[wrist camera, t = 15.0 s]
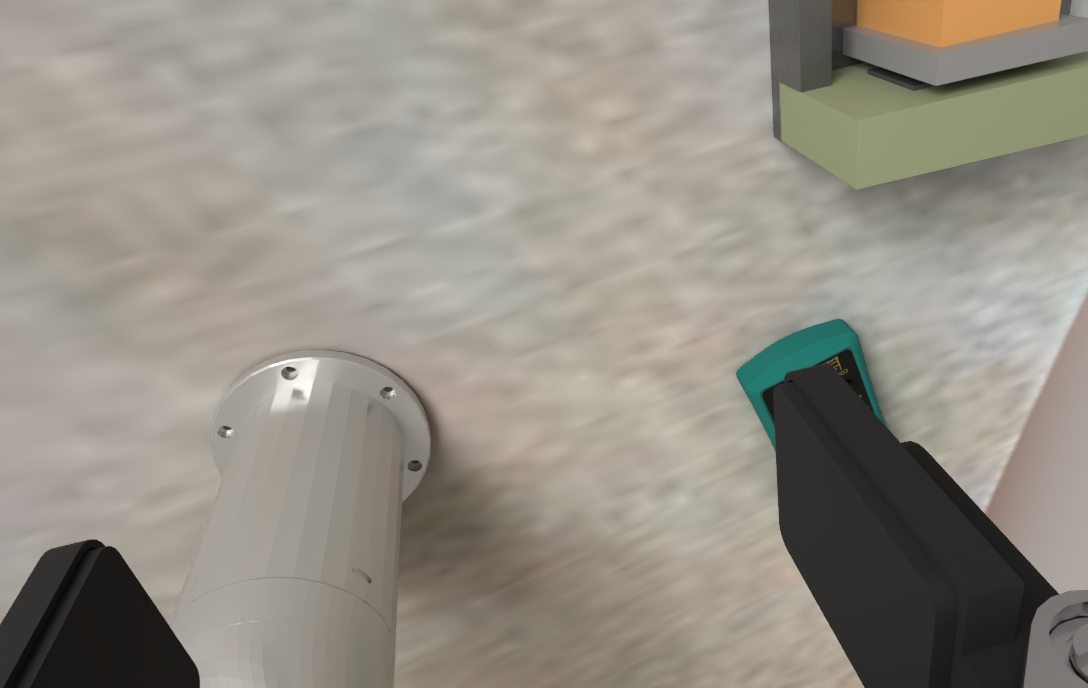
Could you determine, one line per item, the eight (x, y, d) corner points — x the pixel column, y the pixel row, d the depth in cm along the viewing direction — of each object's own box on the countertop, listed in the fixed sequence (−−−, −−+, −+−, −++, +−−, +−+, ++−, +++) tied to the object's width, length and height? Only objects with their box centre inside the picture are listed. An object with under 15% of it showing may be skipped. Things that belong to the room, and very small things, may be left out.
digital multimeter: (836, 305, 46) (859, 327, 44) (893, 464, 54) (916, 492, 51) (727, 360, 47) (744, 385, 45) (798, 509, 55) (816, 538, 52)
